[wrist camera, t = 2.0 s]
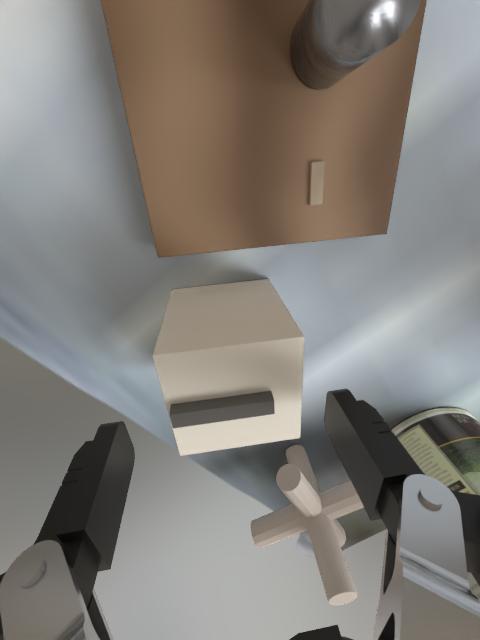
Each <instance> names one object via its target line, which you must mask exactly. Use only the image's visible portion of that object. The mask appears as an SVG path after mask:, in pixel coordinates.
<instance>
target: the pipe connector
mask: <svg viewBox="0 0 480 640" xmlns="http://www.w3.org/2000/svg"><path fill="white" fill-rule="evenodd" d="M286 457H287V460H288V464H286V465H284V466H282V467H281V468H280V469H279V471H278V473H277V475H276V483H277V484H278V486H279V488H280V489H281V491H282V492H283V493H284V494H285V495H286V496H287V498H288V499H289V500H290V501H291V502H292V503H293V504H291V505H289V506H286V507H284V508H282V509H279V510H277V511H274V512H272V513H270V514H267V515H265V516H262V517H260V518H258V519H255V520H253V521H252V522H251V532H252V537H253V540H254V542H255V545H256V546H257V547H258V548H263V547H266V546H268V545H271V544H273V543H276V542H278V541H281V540H283V539H286V538H288V537H291V536H293V535H296V534H298V533H301V532H303V531H306V530H308V533H309V536H310V540H311V543H312V547H313V550H314V554H315V557H316V560H317V564H318V568H319V571H320V575H321V578H322V582H323V585H324V588H325V591H326V595H327V598H328V602H329V604H331V605H342V604H346V603H349V602H351V601H353V600H355V599H356V598H357V597H358V594H357V591H356V588H355V586H354V583H353V580H352V577H351V575H350V572H349V569H348V566H347V564H346V561H345V558H344V555H343V553H342V550H341V547H342V546H343V545H344V543H345V540H346V535H345V531H344V529H343V528H342V526H341V525H340V524H339V522H338V521H337V520H336V518H338V517H341V516H343V515H346V514H348V513H351V512H353V511H356V510H358V509H361V508H363V507H364V506H363V504H362V502H361V500H360V498H359V496H358V494H357V492H356V490H355V488H354V486H353V484H352V482H351V480H349V481H346V482H344V483H341V484H339V485H337V486H334V487H332V488H329V489H327V490H325V491H322V492H320V489H319V487H318V484H317V481H316V478H315V476H314V473H313V470H312V467H311V465H310V462H309V459H308V456H307V454H306V451H305V448H304V447H303V446H302V445H293V446H291V447H289V448H288V449H287V450H286Z"/></svg>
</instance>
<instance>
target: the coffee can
mask: <svg viewBox="0 0 480 640" xmlns="http://www.w3.org/2000/svg"><path fill="white" fill-rule="evenodd" d="M391 432H392V433H394V434H395V436H396V437H397V438H398V440H399V441H400V442H401V444H402V445H403V446H404V448H405V449H406V450H407V452H408V453H409V454H410V456H411V457H412V458H413V460H414V461H415V462H416V464H417V465H418V466H419V468H420V469H421V470H422V471H423V473H424V474H425V475H427V476H430V477H432V478H435V479H436V480H438V481H440V482H441V483H443V484H444V485H445V486H446V487H447V488H449V490H452V491H457V492H462V493H468V494H475V495H480V423H479V422H478V421H477V420H476V419H475V418H474V416H473V415H472V414H470V413H469V412H467V411H465V410H462V409H459V408H452V407H446V408H435V409H431V410H427V411H424V412H421V413H418V414H416V415H414V416H411V417H410V418H408V419H406V420H404V421H403V422H401V423H399V424H398V425H397V426H395V427H394V428H393V429H392V430H391ZM467 574H468V583H469V588H470V591H471V593H472V594H474V595H475V596H476V597H477V598H478V600H479V603H480V586H479V585H478V583H477V582H476V580H475V578H474V577H473V575H472V574H471V573H470V572H467Z"/></svg>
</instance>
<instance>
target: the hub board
mask: <svg viewBox="0 0 480 640" xmlns="http://www.w3.org/2000/svg"><path fill="white" fill-rule="evenodd" d="M308 1H309V0H101V3H102V7H103V12H104V16H105V21H106V25H107V30H108V34H109V39H110V43H111V48H112V52H113V57H114V61H115V66H116V70H117V75H118V79H119V84H120V88H121V93H122V97H123V102H124V106H125V111H126V116H127V120H128V125H129V129H130V134H131V138H132V143H133V147H134V152H135V156H136V161H137V165H138V170H139V174H140V179H141V183H142V188H143V192H144V197H145V201H146V206H147V210H148V215H149V219H150V224H151V228H152V233H153V237H154V242H155V246H156V251H157V255H158V258H161V257H171V256H180V255H190V254H199V253H209V252H218V251H228V250H237V249H247V248H256V247H266V246H275V245H285V244H294V243H304V242H313V241H323V240H332V239H342V238H351V237H361V236H370V235H380V234H387V228H388V223H389V217H390V211H391V205H392V199H393V193H394V187H395V181H396V176H397V170H398V164H399V158H400V152H401V146H402V140H403V135H404V129H405V123H406V117H407V111H408V105H409V99H410V94H411V88H412V82H413V76H414V70H415V64H416V58H417V53H418V47H419V41H420V35H421V29H422V23H423V17H424V12H425V6H426V0H422V1H421V4H420V6H419V9H418V11H417V13H416V15H415V17H414V19H413V21H412V22H411V24H410V25H409V27H408V28H407V30H406V31H405V32H404V33H403V34H402V35H401V37H400V38H398V39H397V40H396V41H395V42H394V43H392V44H391V45H390V46H388V47H387V48H385V49H384V50H382V51H381V52H380V53H378V54H377V55H375V56H374V57H373V58H371V59H370V60H368V61H367V62H365V63H364V64H363V65H361V66H360V67H358V68H357V69H356V70H354V71H353V72H351V73H350V74H348V75H347V76H346V77H344V78H343V79H341V80H340V81H339V82H337V83H336V84H334V85H333V86H331V87H329V88H327V89H323V90H315V89H311V88H308V87H307V86H305V85H304V84H303V83H302V82H301V81H300V80H299V79H298V78H297V76H296V74H295V72H294V70H293V67H292V64H291V59H290V41H291V36H292V32H293V29H294V26H295V24H296V22H297V20H298V18H299V17H300V15H301V13H302V12H303V10H304V8H305V6H306V5H307V3H308Z"/></svg>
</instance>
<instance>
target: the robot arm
mask: <svg viewBox="0 0 480 640" xmlns="http://www.w3.org/2000/svg"><path fill="white" fill-rule="evenodd" d="M324 422H325V427H326V431H327V433H328V435H329V437H330V439H331V441H332V443H333V445H334V447H335V449H336V451H337V453H338V455H339V458H340V460H341V462H342V464H343V466H344V468H345V470H346V472H347V474H348V476H349V478H350V480H351V482H352V484H353V486H354V488H355V490H356V492H357V494H358V496H359V498H360V500H361V502H362V504H363V506H364V508H365V510H366V512H367V514H368V516H369V518H370V520H371V521H373V520H378V519H382V520H383V522H384V524H385V526H386V528H387V531H386V539H385V550H384V560H383V570H382V580H381V581H382V582H381V592H380V600H379V605H378V609H377V614H376V620H375V627H374V636H373V640H480V603H479V600H478V598H477V597H476V596H475V595H474V594H472V593H471V591H470V588H469V583H468V574H467V572H470V573H471V574H472V575H473V577H474V578H475V580H476V582H477V583H478V585H479V586H480V495H475V494H468V493H462V492H457V491H452V490H449V488H447V487H446V486H445V485H444V484H443V483H441V482H440V481H438V480H436V479H435V478H432V477H430V476H427V475H425V474H424V473H423V471H422V470H421V469H420V468H419V466H418V465H417V464H416V462H415V461H414V460H413V458H412V457H411V456H410V454H409V453H408V452H407V450H406V449H405V448H404V446H403V445H402V444H401V442H400V441H399V440H398V438H397V437H396V436H395V434H394V433H392V432H391V429H390V428H389V426H388V425H387V424H386V423H385V422H384V420H383V418H382V417H381V416H380V414H379V413H378V412H377V410H376V409H375V408H373V407H372V406H371V405H369V404H368V403H366V402H365V401H364V400H361V401H356V399H355V398H354V396H353V395H352V393H351V392H350V391H349V390H348V389H341V390H335V391H329V392H328V393H327V398H326V407H325V416H324ZM134 459H135V455H134V447H133V444H132V442H131V439H130V436H129V434H128V431H127V429H126V426H125V424H124V422H123V421H120V422H114V423H107V424H101V425H100V427H99V428H98V430H97V433H96V435H95V438H94V440H93V441H87V442H85V443H84V444H83V446H82V447H81V448H80V449H79V450H78V451H77V453H76V454H75V455H74V457H73V459H72V462H71V464H70V466H69V468H68V473H66V475H65V477H64V479H63V482H62V486H60V489H59V491H58V493H57V496H56V497H55V500H54V502H53V504H52V507H51V509H50V511H49V513H48V516H47V518H46V520H45V522H44V524H43V527H42V529H41V531H40V534H39V536H38V538H37V540H36V541H35V543H34V545H32V546H31V547H29V548H28V549H26V550H25V551H24V552H23V553H21V555H20V556H19V557H17V558H16V560H15V561H14V562H13V563H12V564H11V566H10V567H9V569H8V570H7V572H5V573H3V574H2V575H0V640H113V637H112V635H111V632H110V629H109V627H108V624H107V622H106V619H105V616H104V614H103V611H102V609H101V606H100V604H99V601H98V598H97V595H96V593H95V590H94V588H93V587H94V584H95V580H96V576H97V572H98V571H103V570H108V569H110V568H111V564H112V559H113V554H114V551H115V545H116V542H117V537H118V533H119V528H120V523H121V519H122V515H123V511H124V506H125V502H126V497H127V492H128V488H129V484H130V480H131V475H132V471H133V466H134ZM290 640H353V639H350V638H347V637H342V636H341V635H340V631H339V628H338V625H334V626H330V627H325V628H321V629H316V630H312V631H307V632H303V633H299V634H297V635H295V636H294V637H292V638H291V639H290Z"/></svg>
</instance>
